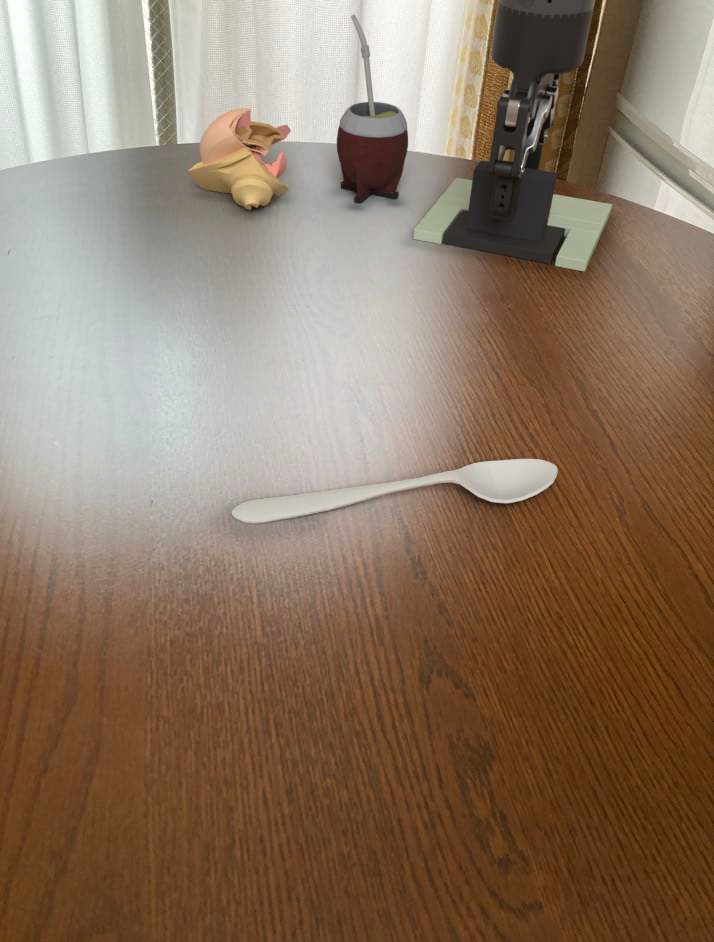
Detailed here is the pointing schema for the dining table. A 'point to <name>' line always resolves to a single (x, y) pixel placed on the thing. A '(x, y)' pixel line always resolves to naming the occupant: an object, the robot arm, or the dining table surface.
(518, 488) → the spoon
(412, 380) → the dining table surface
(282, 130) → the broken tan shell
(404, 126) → the mate gourd
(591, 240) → the sage stepped arch block
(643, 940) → the dining table surface
